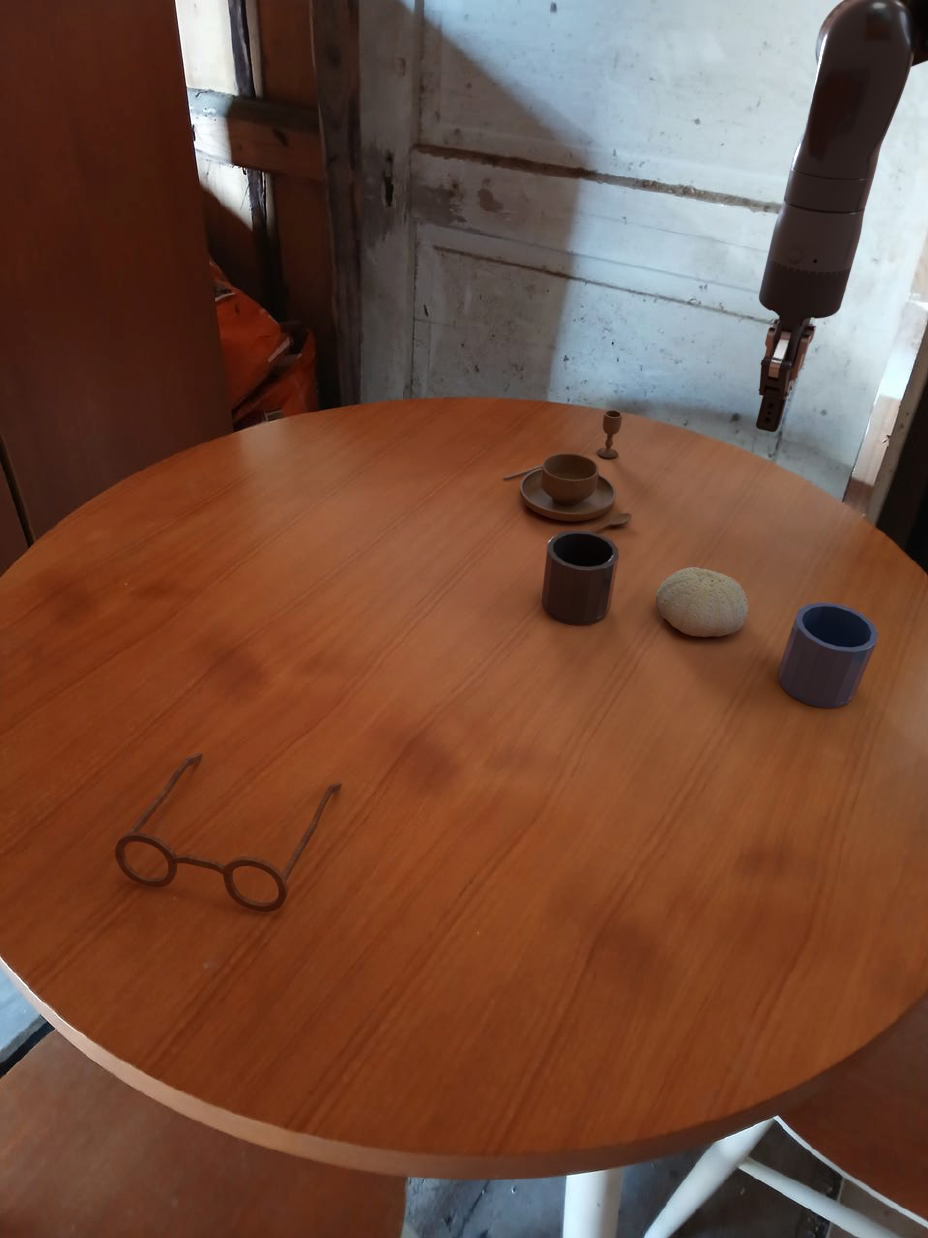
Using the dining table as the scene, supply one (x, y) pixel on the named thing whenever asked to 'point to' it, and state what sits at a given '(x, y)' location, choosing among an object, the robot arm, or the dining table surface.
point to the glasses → (227, 870)
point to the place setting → (574, 483)
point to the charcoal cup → (579, 577)
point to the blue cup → (826, 654)
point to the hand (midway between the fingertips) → (767, 427)
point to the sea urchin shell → (702, 602)
